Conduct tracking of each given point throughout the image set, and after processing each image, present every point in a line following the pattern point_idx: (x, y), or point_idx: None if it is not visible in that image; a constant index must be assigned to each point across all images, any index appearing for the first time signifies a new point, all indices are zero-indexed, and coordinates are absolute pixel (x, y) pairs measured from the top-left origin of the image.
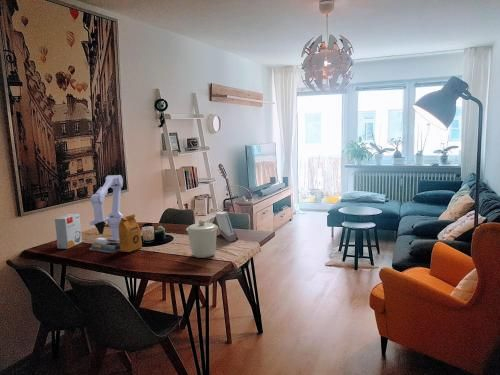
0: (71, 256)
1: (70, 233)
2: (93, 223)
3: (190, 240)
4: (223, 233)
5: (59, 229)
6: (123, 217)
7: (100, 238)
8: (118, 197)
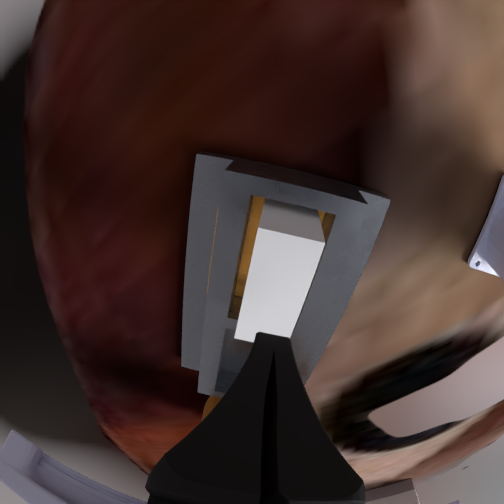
0: (51, 134)
1: None
2: (69, 491)
3: None
4: (376, 497)
5: None
6: None
7: (282, 283)
8: None
